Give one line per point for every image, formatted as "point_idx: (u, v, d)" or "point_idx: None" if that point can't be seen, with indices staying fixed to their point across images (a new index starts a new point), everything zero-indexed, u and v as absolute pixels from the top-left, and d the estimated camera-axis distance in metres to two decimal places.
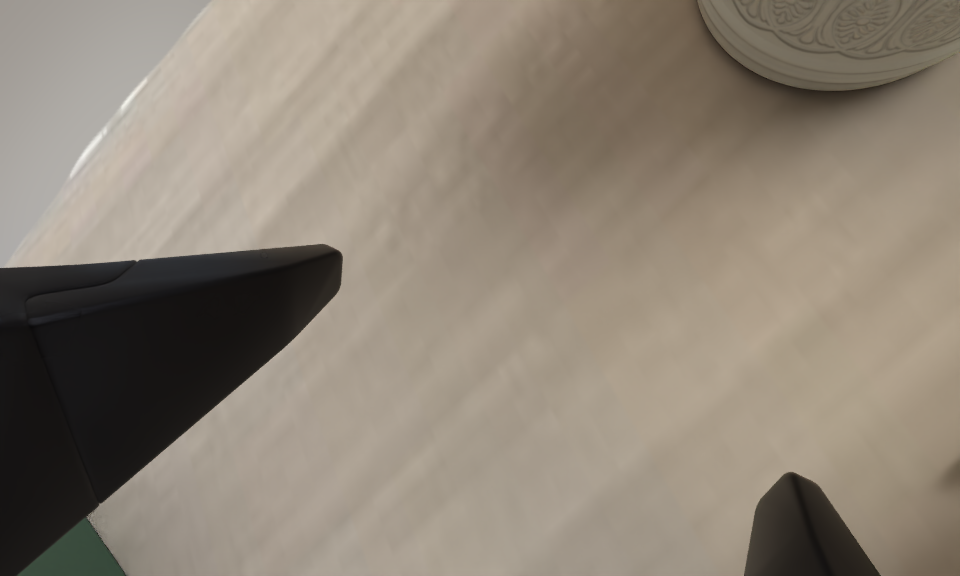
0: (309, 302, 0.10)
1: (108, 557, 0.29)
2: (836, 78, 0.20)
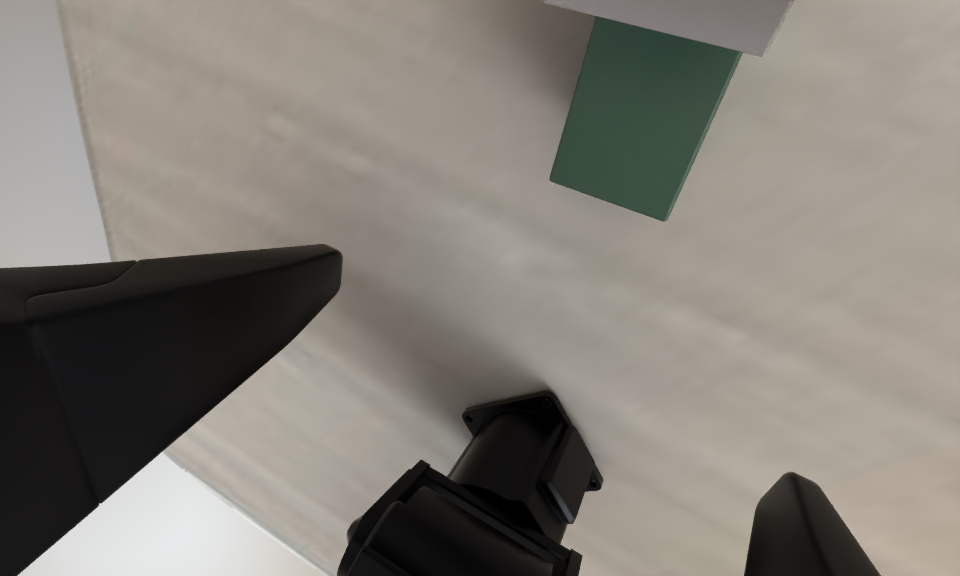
0: (309, 302, 0.10)
1: None
2: None
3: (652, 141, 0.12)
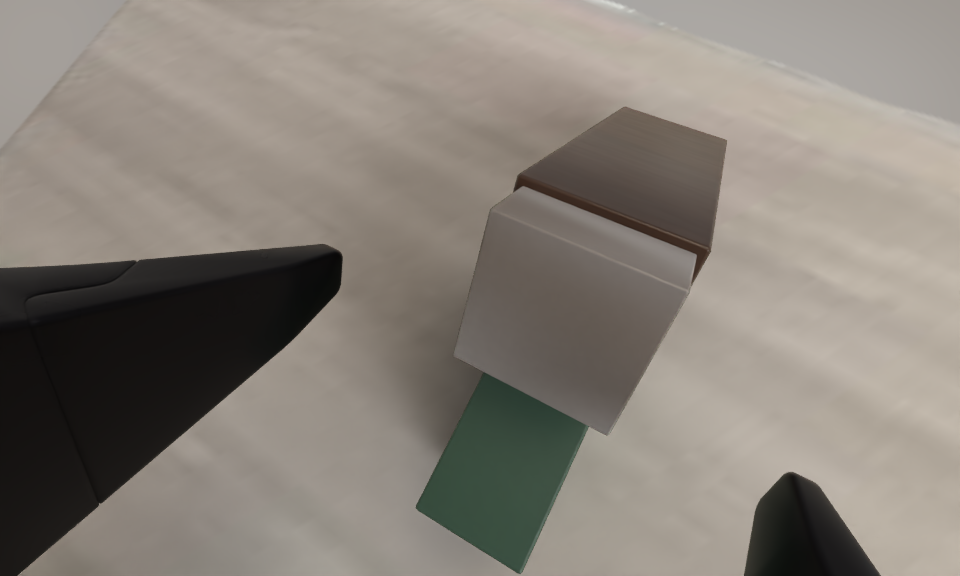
0: (309, 302, 0.10)
1: None
2: None
3: (515, 488, 0.14)
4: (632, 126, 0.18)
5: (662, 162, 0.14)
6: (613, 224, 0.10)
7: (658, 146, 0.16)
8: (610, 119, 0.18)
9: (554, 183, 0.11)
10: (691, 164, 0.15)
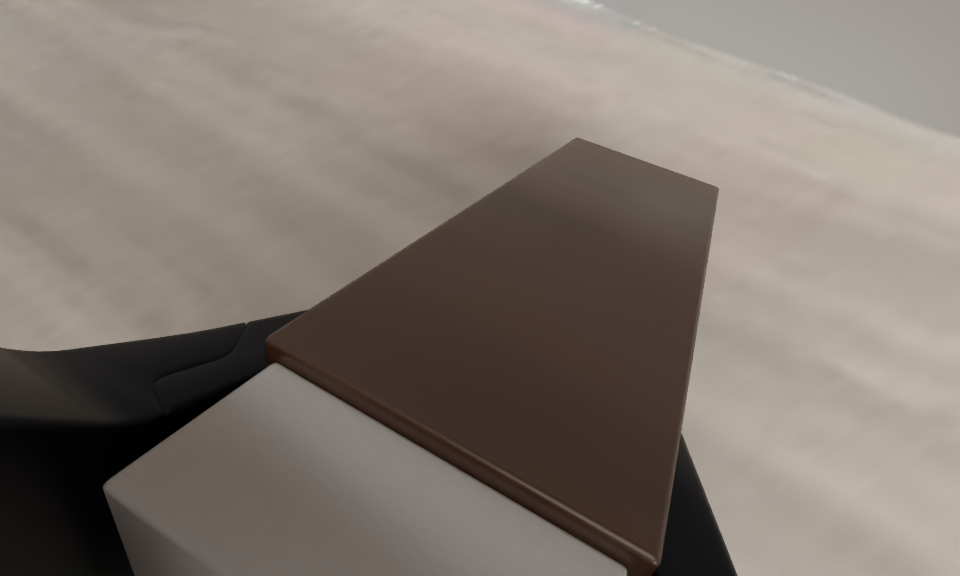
0: None
1: None
2: None
3: None
4: (577, 174, 0.12)
5: (606, 252, 0.09)
6: (442, 479, 0.04)
7: (608, 213, 0.10)
8: (545, 163, 0.12)
9: (337, 360, 0.05)
10: (656, 250, 0.09)
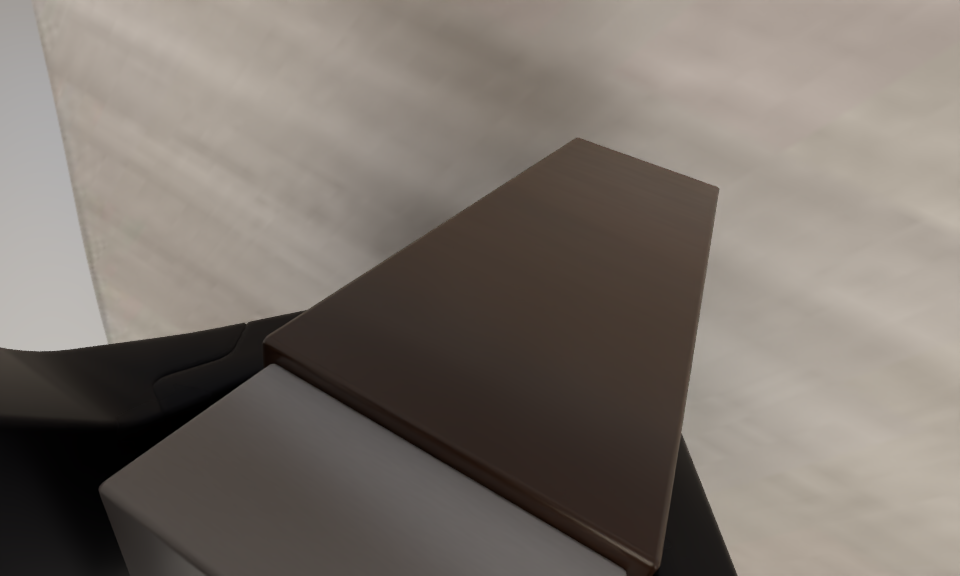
0: None
1: None
2: None
3: None
4: (577, 174, 0.12)
5: (607, 252, 0.09)
6: (441, 480, 0.04)
7: (608, 213, 0.10)
8: (545, 163, 0.12)
9: (336, 360, 0.05)
10: (657, 250, 0.09)
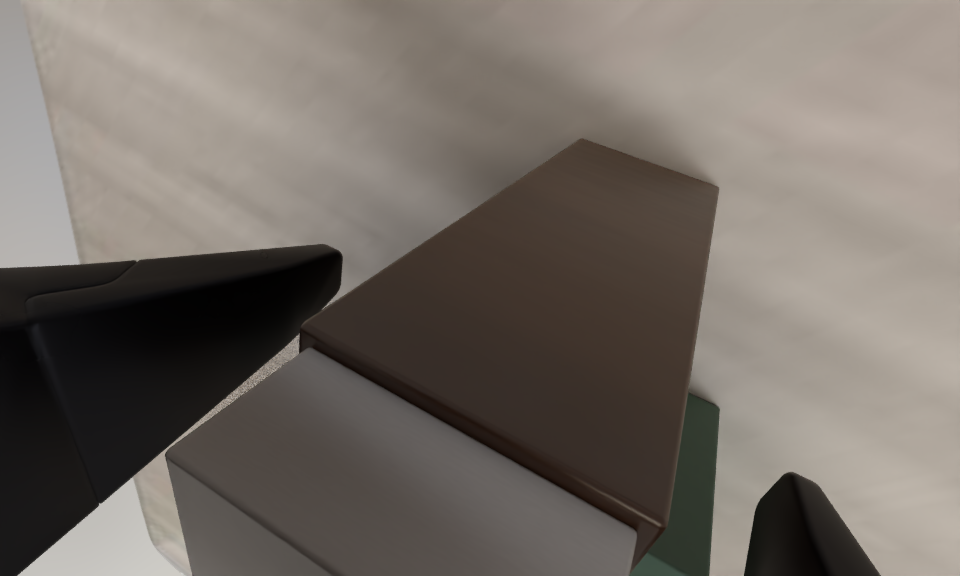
0: (309, 302, 0.10)
1: None
2: None
3: None
4: (582, 174, 0.12)
5: (612, 248, 0.09)
6: (468, 452, 0.05)
7: (613, 211, 0.11)
8: (551, 163, 0.12)
9: (367, 344, 0.06)
10: (660, 246, 0.10)
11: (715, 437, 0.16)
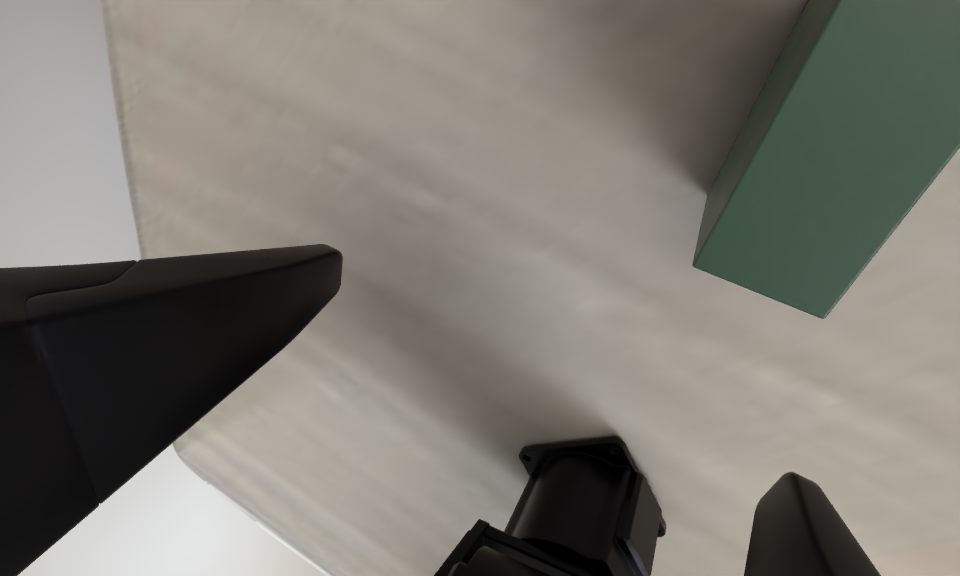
0: (309, 302, 0.10)
1: None
2: None
3: (823, 240, 0.11)
4: None
5: None
6: None
7: None
8: None
9: None
10: None
11: None
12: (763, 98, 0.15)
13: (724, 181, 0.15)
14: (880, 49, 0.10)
